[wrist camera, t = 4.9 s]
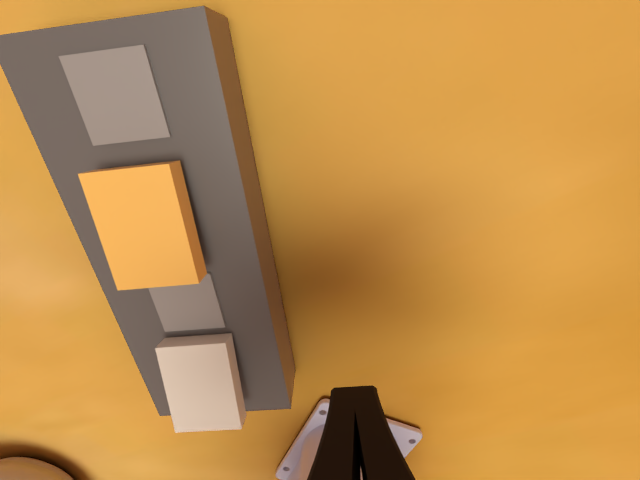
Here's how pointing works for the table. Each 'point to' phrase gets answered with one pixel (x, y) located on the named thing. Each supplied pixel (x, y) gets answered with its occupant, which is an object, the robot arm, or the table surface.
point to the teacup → (30, 470)
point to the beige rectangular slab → (202, 382)
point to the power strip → (155, 147)
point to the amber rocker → (145, 225)
